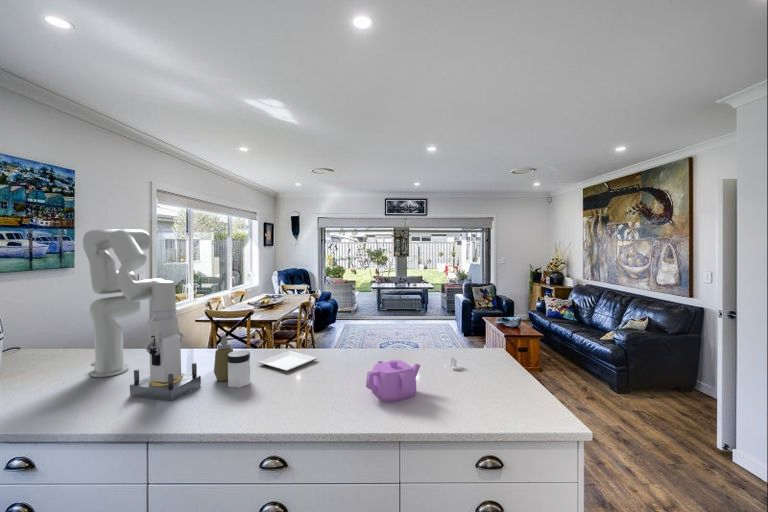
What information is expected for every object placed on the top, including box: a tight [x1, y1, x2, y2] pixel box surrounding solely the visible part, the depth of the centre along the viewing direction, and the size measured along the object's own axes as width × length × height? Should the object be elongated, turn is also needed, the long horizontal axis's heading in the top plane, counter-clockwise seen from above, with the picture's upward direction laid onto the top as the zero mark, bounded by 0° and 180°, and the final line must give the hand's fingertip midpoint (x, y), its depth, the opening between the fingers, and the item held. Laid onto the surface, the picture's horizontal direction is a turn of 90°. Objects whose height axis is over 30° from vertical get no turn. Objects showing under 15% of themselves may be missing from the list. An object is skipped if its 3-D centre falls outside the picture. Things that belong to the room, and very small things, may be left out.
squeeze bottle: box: [213, 334, 234, 382], centre depth 147 cm, size 8×8×18 cm
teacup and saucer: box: [443, 357, 463, 371], centre depth 162 cm, size 9×8×4 cm
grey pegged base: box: [129, 362, 202, 403], centre depth 136 cm, size 18×14×9 cm
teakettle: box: [365, 359, 421, 404], centre depth 135 cm, size 17×17×12 cm
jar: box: [227, 349, 251, 389], centre depth 143 cm, size 9×8×12 cm
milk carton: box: [149, 333, 182, 383], centre depth 136 cm, size 7×7×19 cm
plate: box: [258, 350, 318, 372], centre depth 166 cm, size 19×19×2 cm
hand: (165, 361), depth 136 cm, fingers closed on milk carton, 7 cm apart
